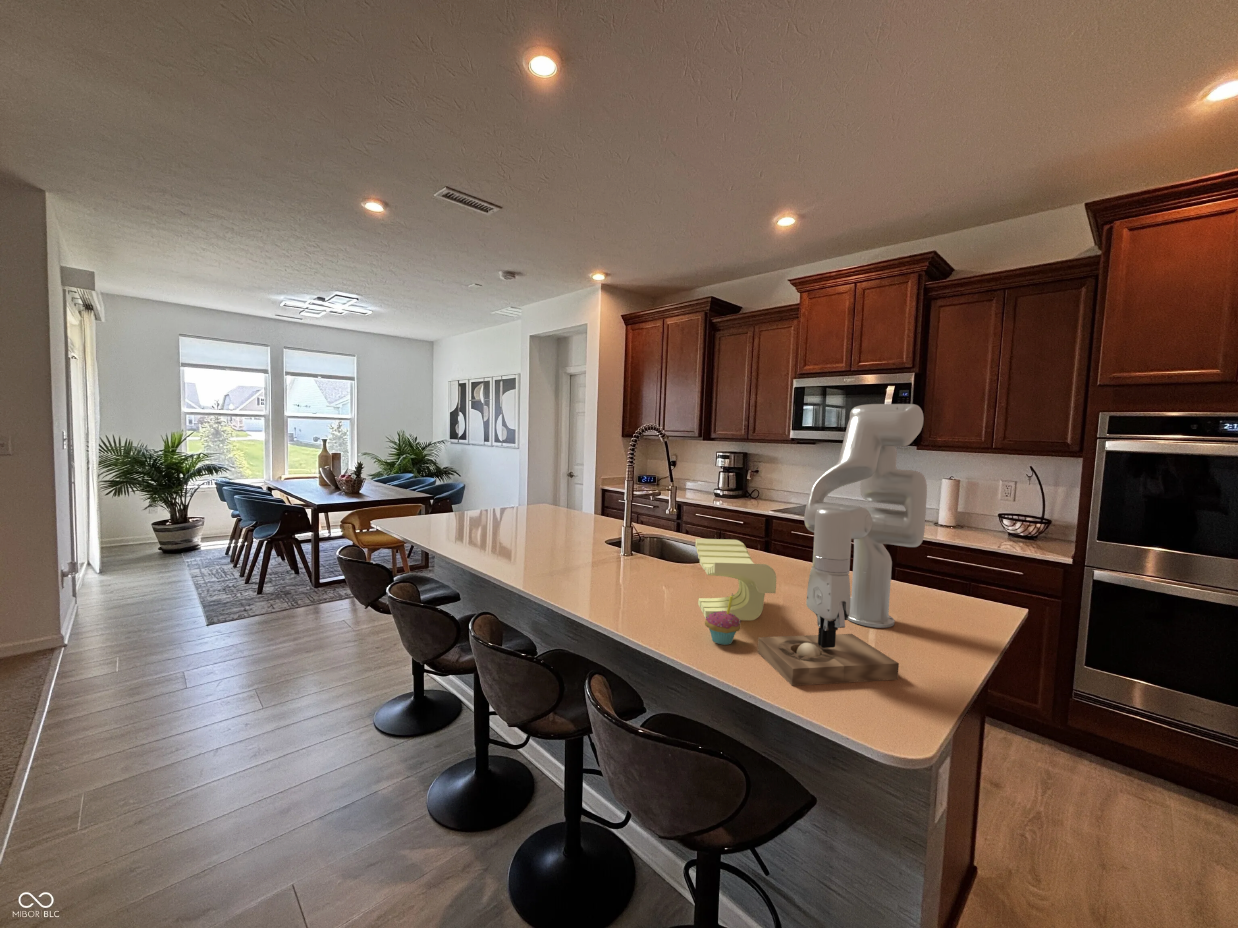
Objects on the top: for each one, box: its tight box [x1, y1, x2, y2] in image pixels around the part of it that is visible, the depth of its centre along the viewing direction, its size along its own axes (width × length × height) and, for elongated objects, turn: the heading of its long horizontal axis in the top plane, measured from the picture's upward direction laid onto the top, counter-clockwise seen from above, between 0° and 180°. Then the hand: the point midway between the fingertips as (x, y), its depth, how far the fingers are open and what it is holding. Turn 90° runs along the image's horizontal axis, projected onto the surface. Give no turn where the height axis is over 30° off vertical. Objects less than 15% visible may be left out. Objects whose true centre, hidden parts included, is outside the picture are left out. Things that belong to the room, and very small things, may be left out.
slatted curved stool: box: [695, 538, 777, 621], centre depth 146 cm, size 30×16×18 cm, turn 1°
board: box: [757, 633, 900, 686], centre depth 114 cm, size 24×16×4 cm, turn 100°
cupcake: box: [704, 592, 742, 646], centre depth 125 cm, size 9×8×12 cm
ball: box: [797, 643, 821, 657], centre depth 113 cm, size 5×5×5 cm
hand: (826, 645), depth 114 cm, fingers closed
